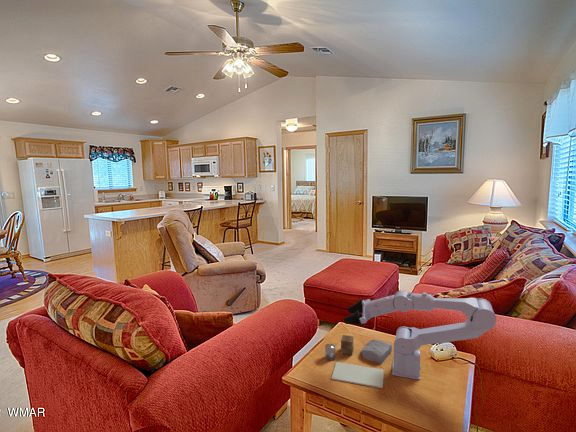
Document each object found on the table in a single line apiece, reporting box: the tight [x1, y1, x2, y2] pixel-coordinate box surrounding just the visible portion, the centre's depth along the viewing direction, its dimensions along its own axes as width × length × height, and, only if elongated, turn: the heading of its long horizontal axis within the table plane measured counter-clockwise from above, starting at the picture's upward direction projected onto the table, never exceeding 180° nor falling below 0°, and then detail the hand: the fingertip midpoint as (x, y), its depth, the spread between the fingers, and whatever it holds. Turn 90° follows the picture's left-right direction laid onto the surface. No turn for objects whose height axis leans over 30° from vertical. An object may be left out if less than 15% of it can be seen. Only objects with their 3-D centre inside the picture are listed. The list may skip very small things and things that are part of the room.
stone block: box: [360, 339, 393, 364], centre depth 131 cm, size 12×5×10 cm
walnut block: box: [340, 334, 355, 356], centre depth 133 cm, size 4×4×6 cm
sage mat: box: [330, 361, 385, 389], centre depth 119 cm, size 18×10×1 cm, turn 71°
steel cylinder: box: [324, 343, 336, 362], centre depth 130 cm, size 4×4×5 cm
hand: (346, 315), depth 126 cm, fingers open, 7 cm apart
